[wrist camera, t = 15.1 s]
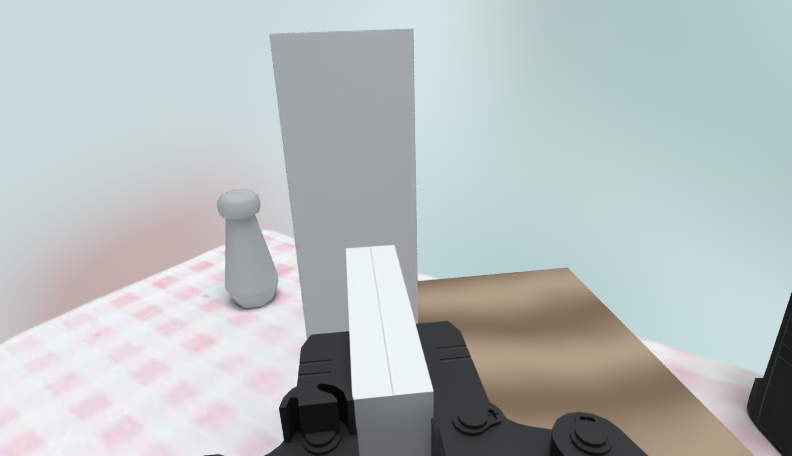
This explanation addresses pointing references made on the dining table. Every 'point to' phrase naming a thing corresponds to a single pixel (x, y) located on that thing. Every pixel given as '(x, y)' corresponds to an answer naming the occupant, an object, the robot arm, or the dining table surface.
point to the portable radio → (776, 390)
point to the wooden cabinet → (570, 360)
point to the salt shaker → (246, 251)
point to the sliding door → (347, 158)
